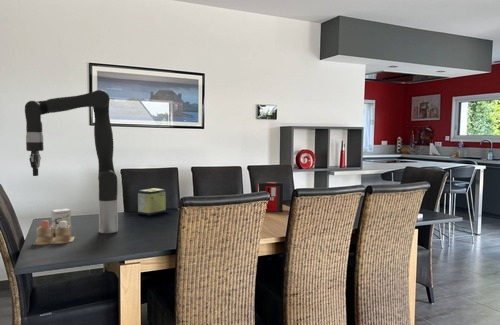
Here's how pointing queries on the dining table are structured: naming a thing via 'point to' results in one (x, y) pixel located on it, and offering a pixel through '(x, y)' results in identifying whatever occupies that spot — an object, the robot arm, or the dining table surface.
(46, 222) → the terracotta plug
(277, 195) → the cleaning product box
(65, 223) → the grey plug
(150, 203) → the protein box
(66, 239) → the socket block
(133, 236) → the dining table surface
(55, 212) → the ink box
